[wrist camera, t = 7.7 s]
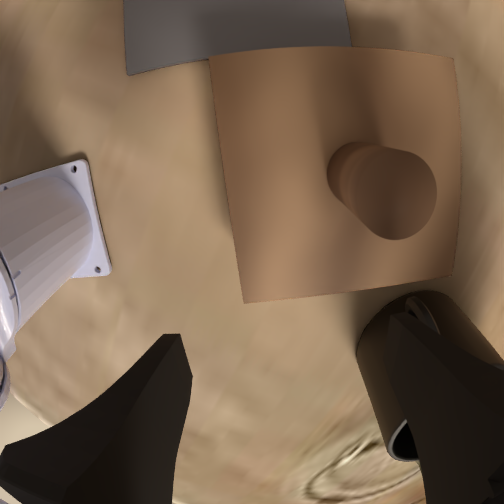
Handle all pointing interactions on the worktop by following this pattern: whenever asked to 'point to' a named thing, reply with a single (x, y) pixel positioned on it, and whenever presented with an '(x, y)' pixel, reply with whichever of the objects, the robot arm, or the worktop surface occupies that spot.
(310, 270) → the lid
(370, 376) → the mug
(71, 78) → the worktop surface
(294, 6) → the mat
